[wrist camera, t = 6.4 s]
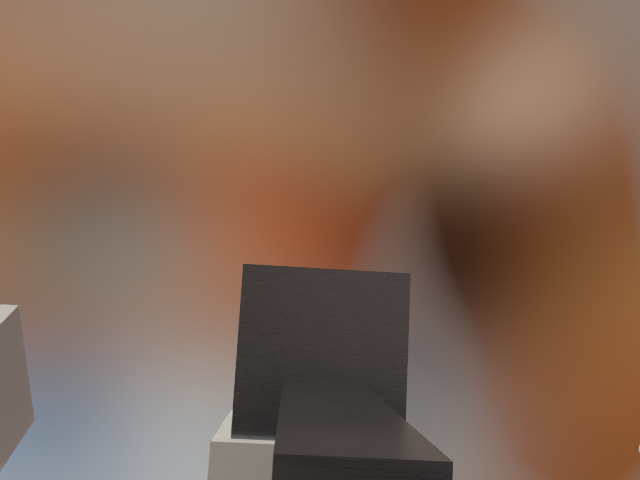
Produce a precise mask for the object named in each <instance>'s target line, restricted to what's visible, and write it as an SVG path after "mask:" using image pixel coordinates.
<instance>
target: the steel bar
mask: <svg viewBox="0 0 640 480" xmlns="http://www.w3.org/2000/svg"><path fill="white" fill-rule="evenodd" d="M409 301H410V274H407V273H390V272H373V271H372V272H371V271H356V270H339V269H322V268H321V269H320V268H305V267H288V266H271V265H252V264H243V275H242V289H241V303H240V304H241V305H240V318H239V330H238V344H237V358H236V372H235V386H234V400H233V413H232V426H231V439H250V440H272V441H275V445H274V452H273V466H272V480H452V474H453V462H452V461H451V460H450V459H449V458H448V457H447V456H445V455H444V454H443V453H442V452H441V451H440V450H439V449H438V448H436V447H435V446H434V445H433V444H432V443H431V442H429V441H428V440H427V439H426V438H425V437H424V436H423V435H421V434H420V433H419V432H418V431H417V430H416V429H414V428H413V427H412V426H411V425H410V424H409V423H408V422H406V393H407V362H408V333H409V303H410V302H409Z"/></svg>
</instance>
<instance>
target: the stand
mask: <svg viewBox="0 0 640 480" xmlns="http://www.w3.org/2000/svg"><path fill="white" fill-rule="evenodd" d="M232 413H233V409H232V410H231V412H230V413H229V415H228V416H227V418H226V419H225V421H224V422H223V424H222V425H221V427H220V428H219V430H218V431H217V432H216V434H215V436H214V437H213V439H212V440H211V442H210V455H209V456H210V457H209V468H208V480H272V466H273V452H274V445H275V441H272V440H250V439H231V426H232Z"/></svg>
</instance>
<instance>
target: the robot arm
mask: <svg viewBox="0 0 640 480" xmlns="http://www.w3.org/2000/svg"><path fill="white" fill-rule="evenodd" d="M33 421H34V413H33V406H32V399H31V391H30V385H29V377H28V371H27V363H26V356H25V349H24V341H23V335H22V327H21V320H20V313H19V306H17V305H1V304H0V471H1V469H2V468H3V466H4V465H5V463H6V462H7V460H8V459H9V457H10V456H11V454H12V453H13V451H14V450H15V448H16V447H17V445H18V444H19V442H20V441H21V439H22V438H23V436H24V435H25V433H26V432H27V430H28V428H29V427H30V426H31V424H32V423H33ZM639 451H640V447H639Z"/></svg>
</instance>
